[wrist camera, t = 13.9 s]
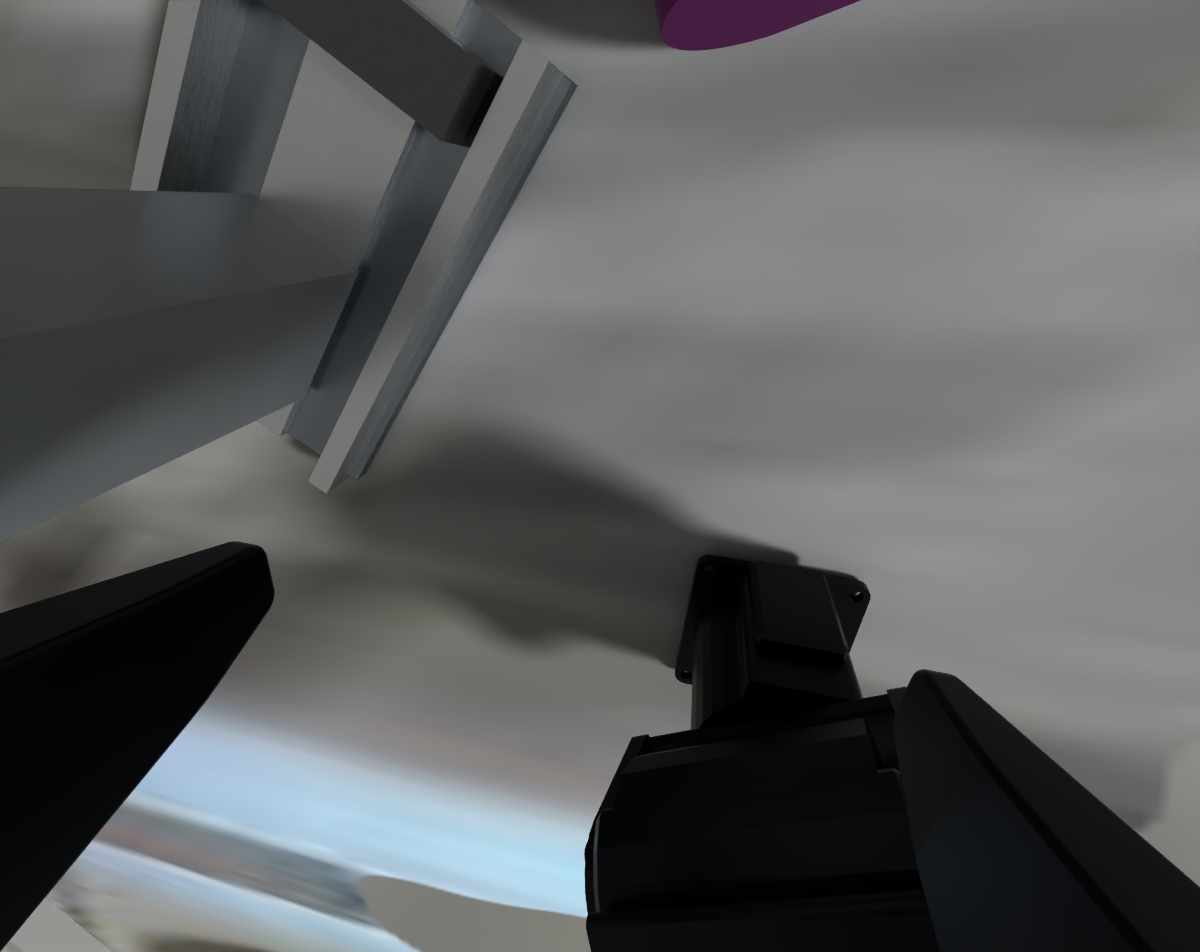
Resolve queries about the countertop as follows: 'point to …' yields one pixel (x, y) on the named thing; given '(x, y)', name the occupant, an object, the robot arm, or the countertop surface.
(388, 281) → the rail plate
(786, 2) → the mounting bracket
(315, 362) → the block
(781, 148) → the countertop surface
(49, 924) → the pizza boxes
